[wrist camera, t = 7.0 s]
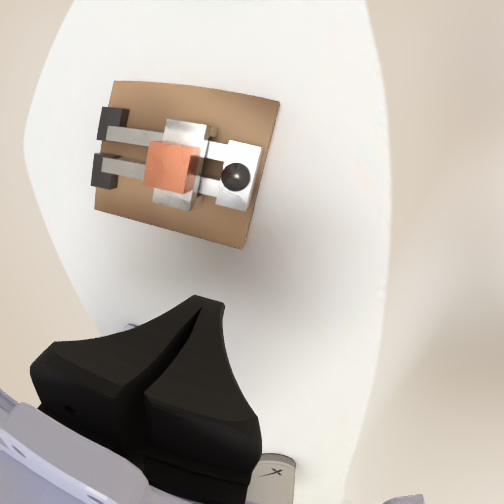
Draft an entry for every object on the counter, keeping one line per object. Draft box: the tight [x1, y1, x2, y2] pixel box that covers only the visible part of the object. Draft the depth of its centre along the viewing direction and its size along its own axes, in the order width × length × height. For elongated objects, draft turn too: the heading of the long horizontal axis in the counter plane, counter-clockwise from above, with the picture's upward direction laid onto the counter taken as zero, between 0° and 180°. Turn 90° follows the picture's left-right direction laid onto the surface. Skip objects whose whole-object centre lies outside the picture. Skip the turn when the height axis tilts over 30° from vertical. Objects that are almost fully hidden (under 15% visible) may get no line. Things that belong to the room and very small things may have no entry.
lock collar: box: [143, 119, 218, 211], centre depth 16 cm, size 5×2×4 cm, turn 167°
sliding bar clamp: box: [91, 107, 264, 212], centre depth 17 cm, size 6×12×3 cm, turn 77°
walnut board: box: [94, 81, 280, 249], centre depth 19 cm, size 10×12×1 cm
